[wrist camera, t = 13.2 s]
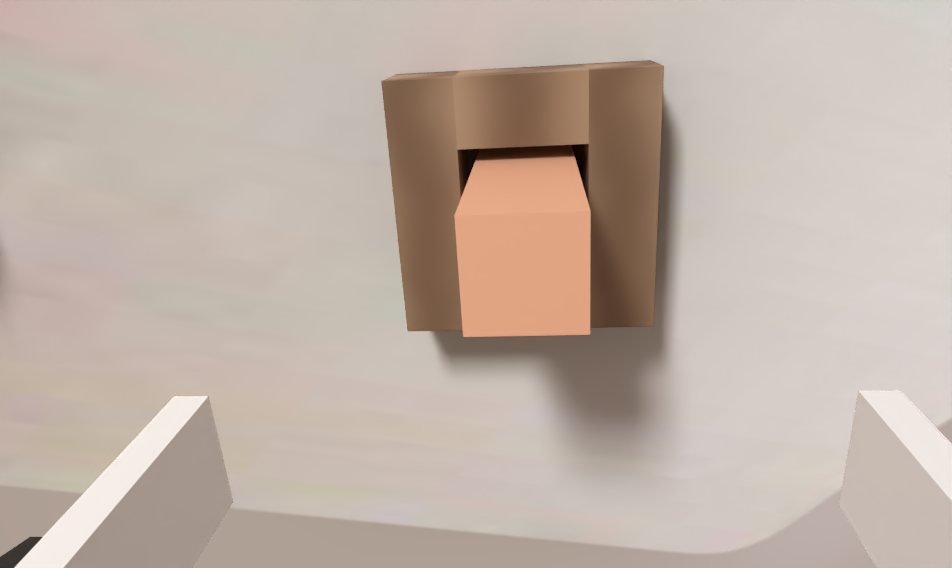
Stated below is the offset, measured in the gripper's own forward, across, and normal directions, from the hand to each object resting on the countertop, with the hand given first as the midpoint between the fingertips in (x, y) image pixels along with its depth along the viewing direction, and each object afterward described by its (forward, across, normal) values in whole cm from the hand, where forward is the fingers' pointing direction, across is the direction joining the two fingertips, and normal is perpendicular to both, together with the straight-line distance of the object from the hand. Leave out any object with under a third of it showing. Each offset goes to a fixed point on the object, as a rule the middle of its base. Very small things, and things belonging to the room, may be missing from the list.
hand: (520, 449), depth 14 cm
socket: (+22, 0, 0) cm, 22 cm away
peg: (+22, 0, 0) cm, 22 cm away
